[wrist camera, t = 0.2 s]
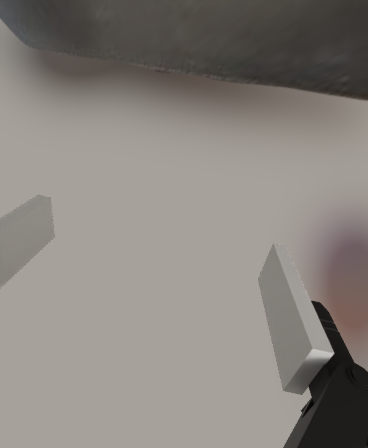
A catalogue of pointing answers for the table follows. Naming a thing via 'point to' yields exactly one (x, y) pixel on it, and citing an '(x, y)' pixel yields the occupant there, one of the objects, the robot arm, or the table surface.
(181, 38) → the table surface
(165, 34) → the table surface
